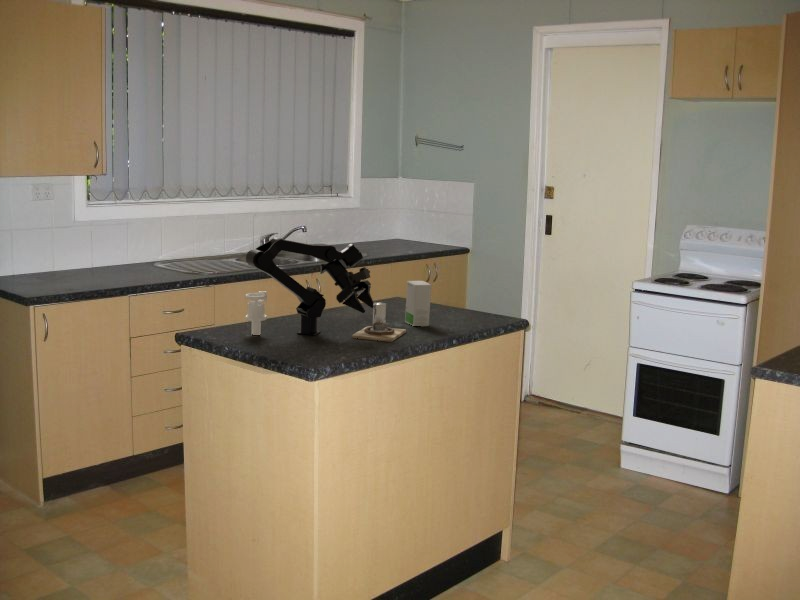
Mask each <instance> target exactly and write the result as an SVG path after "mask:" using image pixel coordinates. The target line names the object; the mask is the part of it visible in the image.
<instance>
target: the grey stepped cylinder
mask: <svg viewBox="0 0 800 600" xmlns="http://www.w3.org/2000/svg"><path fill="white" fill-rule="evenodd" d="M267 292H268V291H266V290H264V291H263V290H259V291H258V292H249V293H246V294H245V296H244V297H245V300H249V301H248V302H247V314H246V315H245V321H248V322H251V335H252V334H253V335H260V334H261V335H262V333H261V329H262V324H261V323H262V322H264V321H266V320H268V315H267V314H265V303H267V302H268V301H267V299H268V293H267ZM261 335H260V336H261Z"/></svg>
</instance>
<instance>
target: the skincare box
mask: <svg viewBox="0 0 800 600" xmlns="http://www.w3.org/2000/svg"><path fill="white" fill-rule="evenodd" d="M431 296H432V284H430V283H428V282H427V281H424V280H407V281H406V299H405V313H404V315H405V316H404V323H406V324H408V325H409V324H410V325H409V326H411V325H412V326H411V327H413V326H421V327H429V326H430V312H431Z"/></svg>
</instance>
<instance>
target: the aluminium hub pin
mask: <svg viewBox="0 0 800 600" xmlns="http://www.w3.org/2000/svg"><path fill="white" fill-rule="evenodd" d="M386 320H387V303H386V302H382V301H381V302H380V301H379V302H378V301H377V302H374V303H373V308H372V326H373V328H371V329H370V331H373V332H388V329H386V328H385V327H387V325H386V323H387V322H386Z"/></svg>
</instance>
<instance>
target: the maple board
mask: <svg viewBox="0 0 800 600" xmlns="http://www.w3.org/2000/svg"><path fill="white" fill-rule="evenodd" d="M371 328H373V325H367V326H366V327H363V328H362V329H360V330H359V331H357V332H354V333H353V334H352V335H351V339H357V338H358V339H359V340H368V341H369V340H370V341H377V340H378V341H377V342H379V341H380V342H388V343H392V342H394V341H395V340H397V339H398V338H399V337H401V336H403V335H404V334H406V331H407V329H406V328H405V329H404V328H394V327H393V328H392V327H389V326H386V327H385V328H386V329H388V332H373V331H370V329H371Z"/></svg>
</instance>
